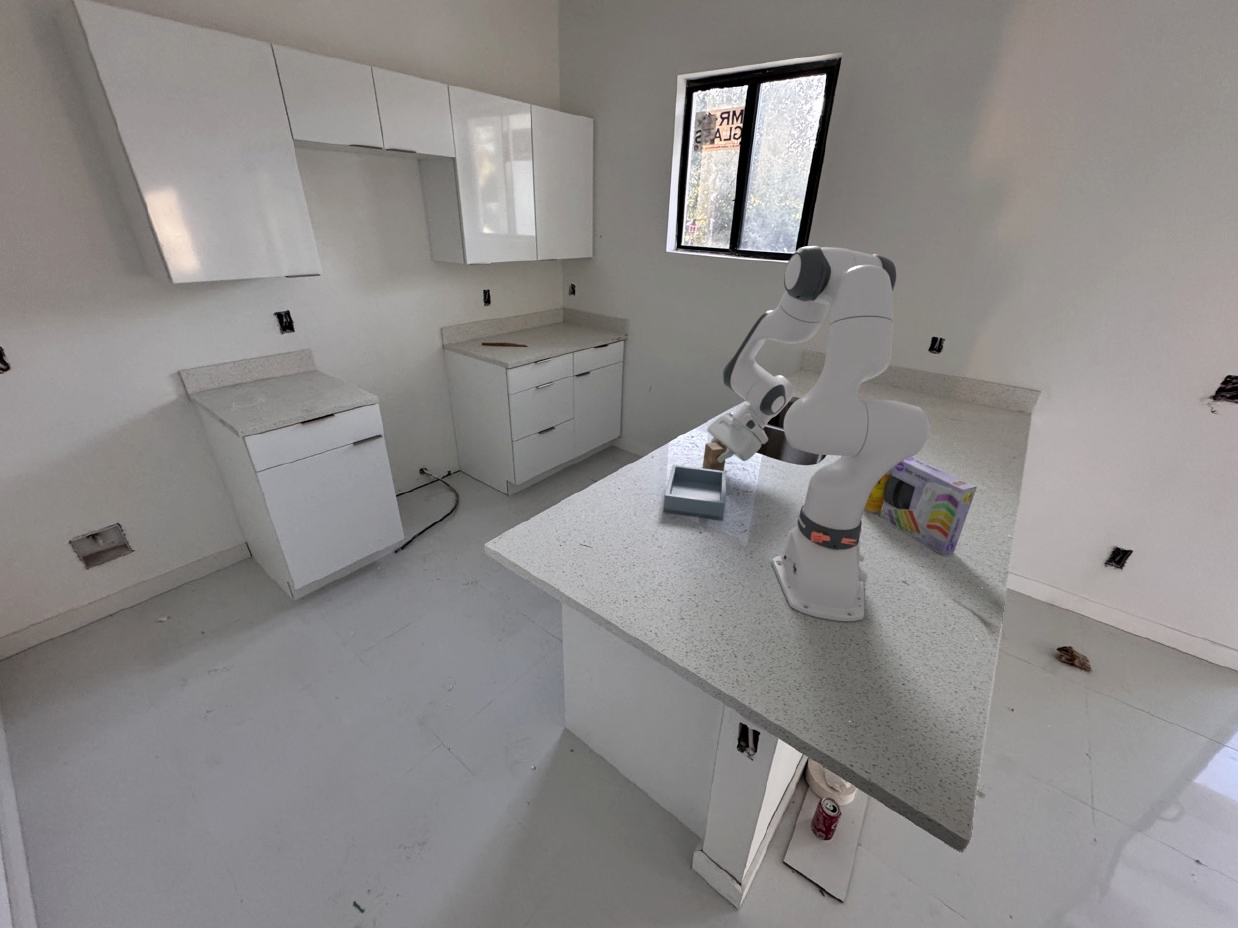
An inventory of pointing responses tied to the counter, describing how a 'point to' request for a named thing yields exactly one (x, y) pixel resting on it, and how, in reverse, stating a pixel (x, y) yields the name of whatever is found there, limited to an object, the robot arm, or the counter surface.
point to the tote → (696, 492)
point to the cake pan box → (927, 503)
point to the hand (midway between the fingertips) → (712, 456)
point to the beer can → (877, 494)
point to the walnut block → (713, 456)
